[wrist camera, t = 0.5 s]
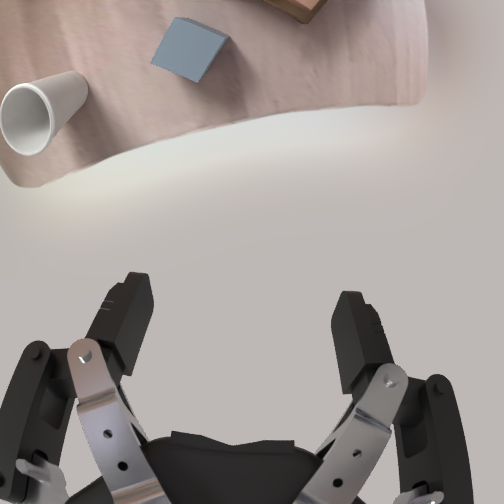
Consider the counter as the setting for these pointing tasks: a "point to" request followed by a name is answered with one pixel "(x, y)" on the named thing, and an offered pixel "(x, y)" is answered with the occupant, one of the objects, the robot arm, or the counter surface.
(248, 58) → the counter surface
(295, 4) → the wooden stepped block
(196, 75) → the slate brick
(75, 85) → the dixie cup
